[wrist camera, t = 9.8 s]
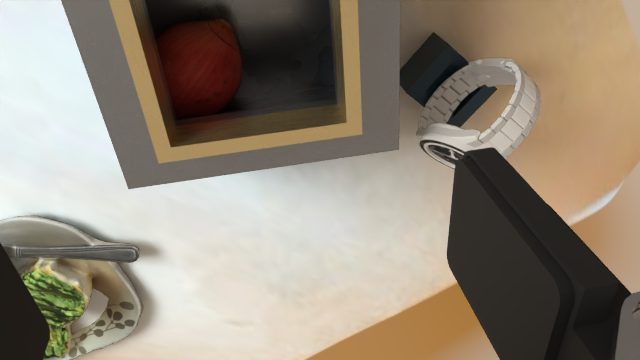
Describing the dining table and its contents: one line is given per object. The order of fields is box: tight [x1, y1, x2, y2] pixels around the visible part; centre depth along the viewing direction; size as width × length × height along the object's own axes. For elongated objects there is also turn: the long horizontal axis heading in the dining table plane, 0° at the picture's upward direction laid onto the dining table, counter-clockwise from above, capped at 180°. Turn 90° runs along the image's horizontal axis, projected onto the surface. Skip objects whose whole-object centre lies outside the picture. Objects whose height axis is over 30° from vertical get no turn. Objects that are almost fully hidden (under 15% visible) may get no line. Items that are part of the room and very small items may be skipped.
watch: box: [399, 32, 540, 169], centre depth 34 cm, size 6×8×11 cm
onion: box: [156, 19, 243, 120], centre depth 31 cm, size 6×6×8 cm
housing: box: [61, 0, 400, 189], centre depth 28 cm, size 16×16×12 cm
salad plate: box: [0, 215, 143, 360], centre depth 42 cm, size 19×18×5 cm
